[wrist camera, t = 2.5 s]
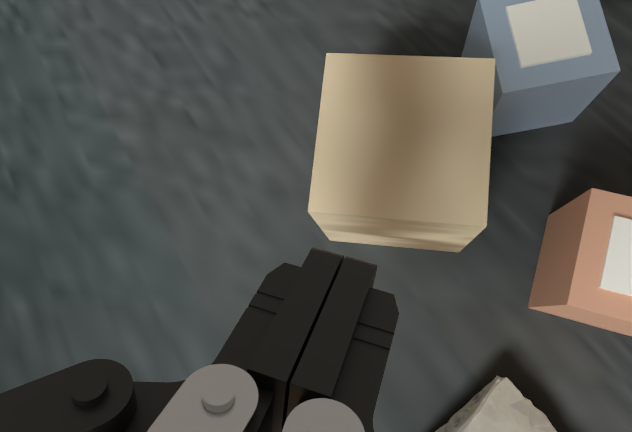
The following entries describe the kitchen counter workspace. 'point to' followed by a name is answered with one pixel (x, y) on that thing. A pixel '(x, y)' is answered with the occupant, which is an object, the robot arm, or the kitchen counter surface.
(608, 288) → the terracotta label block
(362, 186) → the plain block
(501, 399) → the stone tool
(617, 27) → the kitchen counter surface
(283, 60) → the kitchen counter surface
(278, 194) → the kitchen counter surface
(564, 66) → the blue label block
